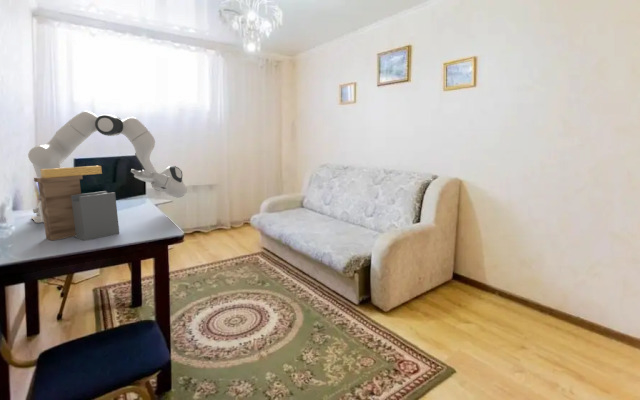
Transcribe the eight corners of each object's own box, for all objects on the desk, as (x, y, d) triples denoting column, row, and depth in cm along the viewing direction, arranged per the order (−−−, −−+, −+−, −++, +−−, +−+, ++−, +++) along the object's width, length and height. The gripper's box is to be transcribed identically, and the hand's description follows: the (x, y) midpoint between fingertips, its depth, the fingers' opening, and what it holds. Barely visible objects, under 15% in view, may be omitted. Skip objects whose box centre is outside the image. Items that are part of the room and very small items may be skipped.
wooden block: (45, 178, 143) (43, 169, 142) (41, 177, 145) (40, 169, 144) (102, 173, 161) (101, 165, 160) (98, 173, 163) (97, 165, 162)
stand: (42, 238, 149) (33, 177, 144) (81, 231, 161) (74, 174, 156) (49, 241, 145) (41, 179, 140) (89, 233, 157) (82, 175, 153)
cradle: (76, 237, 150) (70, 195, 147) (110, 230, 162) (105, 190, 159) (85, 240, 146) (79, 197, 143) (119, 233, 158) (115, 192, 154)
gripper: (150, 175, 194) (128, 164, 183) (173, 177, 183) (151, 165, 172) (146, 185, 193) (123, 175, 181) (169, 188, 182) (146, 177, 171)
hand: (137, 170), depth 177 cm, fingers open, 8 cm apart
